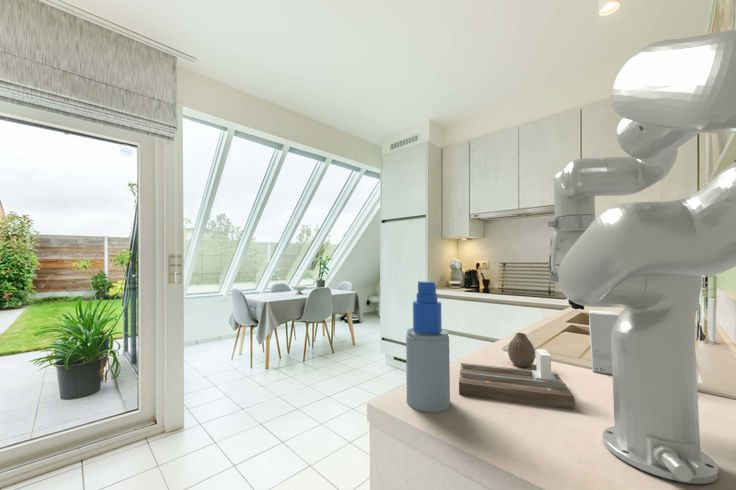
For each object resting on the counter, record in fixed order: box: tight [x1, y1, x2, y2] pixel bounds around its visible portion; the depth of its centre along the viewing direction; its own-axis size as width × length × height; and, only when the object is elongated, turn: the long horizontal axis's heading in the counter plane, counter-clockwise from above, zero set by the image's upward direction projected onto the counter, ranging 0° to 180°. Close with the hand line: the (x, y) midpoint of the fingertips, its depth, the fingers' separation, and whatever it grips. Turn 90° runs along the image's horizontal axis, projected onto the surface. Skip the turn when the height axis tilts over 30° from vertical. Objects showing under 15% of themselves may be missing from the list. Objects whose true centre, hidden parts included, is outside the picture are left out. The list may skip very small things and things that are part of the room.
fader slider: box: [531, 348, 557, 382], centre depth 69 cm, size 5×4×6 cm
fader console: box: [458, 362, 576, 411], centre depth 71 cm, size 14×22×4 cm, turn 71°
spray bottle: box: [405, 280, 451, 413], centre depth 65 cm, size 9×9×25 cm
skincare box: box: [588, 309, 619, 376], centre depth 84 cm, size 8×7×16 cm
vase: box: [507, 332, 536, 368], centre depth 88 cm, size 7×7×9 cm
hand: (577, 308), depth 68 cm, fingers closed
